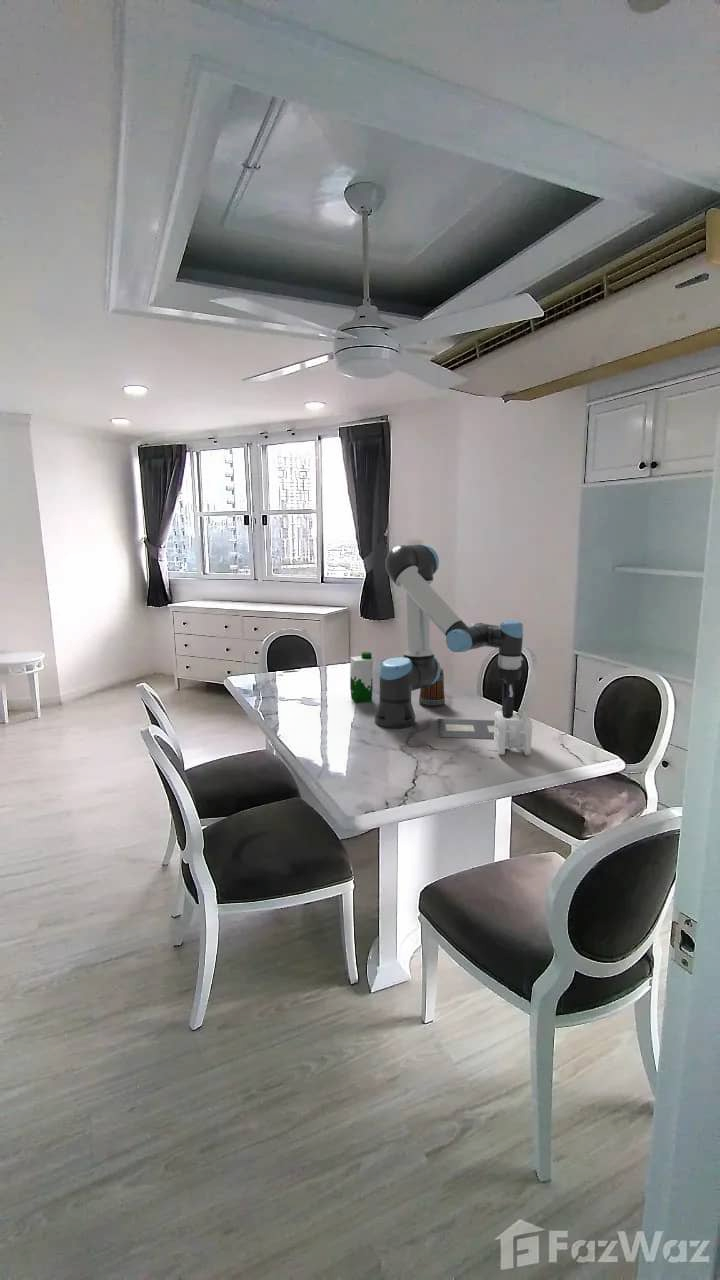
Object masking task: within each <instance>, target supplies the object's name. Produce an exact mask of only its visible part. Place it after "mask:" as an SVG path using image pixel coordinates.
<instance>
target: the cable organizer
mask: <svg viewBox="0 0 720 1280" xmlns="http://www.w3.org/2000/svg"><path fill="white" fill-rule="evenodd" d="M493 714H494V716H493V717H494V718H493V720H495V725H494V739H493V741H494V745H495V748H496V752H497V755H500V756H503V755H505V752H506V750H510V749H511V748H518V751H520V750H522V752H523V754H524V755H525V756H530V755H531V750H532V734H533V723H532V721H531V718H530V717H529V715H528V713H527V711H523V710H521V711H520V717H519V718H511V719H509V718H504V717H503V711H502V710H495V713H493Z"/></svg>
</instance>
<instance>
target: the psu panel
mask: <svg viewBox="0 0 720 1280" xmlns="http://www.w3.org/2000/svg"><path fill="white" fill-rule="evenodd" d="M437 722H438V723H437V724H438V732H439V733H438V734H439V738H449V739H450V738H452V739H480V740H482V739H483V740H484V739H485V740H494V725H495V719H493V720H489V719H488V720H487V719H463V718H462V719H461V718H460V719H458V718H457V719H456V718H437Z"/></svg>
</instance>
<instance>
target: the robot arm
mask: <svg viewBox="0 0 720 1280" xmlns="http://www.w3.org/2000/svg"><path fill="white" fill-rule="evenodd" d="M384 561H385V564H384V565H385V570H386V573H387V575H388V576H389V578H390V579H391V581H392V582H393V583H394V584H395V585H396V586H397V588H402V589H403V590H404V591H405V592H406V594H405V595H406V596H405V597H406V629H407V630H406V633H407V634H406V637H407V638H406V639H407V641H406V642H407V649H406V650H405V651H404V652H403V656H402V657H401V656H396V657H391V658H387V659H385V660H383V661H382V662H381V663H380V666H379V667H380V668H379V669H380V670H379V702H378V705H377V708H376V710H375V714H374V722H375V724H376V725H377V726H380V727H383V728H390V729H402V728H403V729H404V728H409V727H412V726H414V725H415V724H416V720H417V719H416V714H415V710H414V707H413V703H412V691H416V690H420V689H421V688H425V687H428V686H430V685H432V684H434V683H435V682H436V681H437V680H438V678H439V676H440V667H441V665H440V662H439V661H438V659H437V658H436V657H435V652H434V651H433V650H432V649H431V625H430V624H431V621H432V623H433V624H434V625H435V626H436V627H437V628H438V629H439V630H440V631H441V633H442V634H444V636H445V643H446V647H447V648H448V649H449V650H450V651H451V652H453V653H465V652H468V651H470V650H474V649H480V648H482V647H490V648H495V649H498V659H497V663H498V664H497V665H498V668H497V678H498V679H500V680H503V682H502V683H501V687H502V688H501V689H502V691H501V693H502V694H501V695H502V696H501V697H502V700H501V701H502V704H501V707H502V708H501V712H502V714H503V717H504V718H509V719H512V718H513V716H514V708H515V707H514V706H515V696H516V684H515V683H514V682H515V681H519V680H520V679H521V675H522V668H521V667H522V661H524V657H522V654H523V642H524V641H523V639H524V638H523V637H524V625H523V623H522V622H521V621H518V620H502V621H500V623H499V624H500V625H495V624H489V623H483V622H471V623H470V625H469V626H468V625H467V624H466V623H465V622H464V621H463V620H462V619H461V618H460V617H459V615H458V614H457V613H456V612H455V611H454V610H453V609H452V608H451V607H450V606H449V604H448V603H447V602H446V601H445V600H444V599H443V598H442V597H441V596H440V595H439V593H438V592H437V591H435V589H434V588H433V587H432V586H431V584H432V583H433V582H434V575H435V574H436V572H437V571H438V569H439V566H440V560H439V556H438V553H437V552H436V551H435V549H434V548H433V547H431V546H430V545H426V544H407V545H405V544H404V545H397V546H394V547H393V548H392V549H390V551H389V552H388V553H387V555H386V558H385V560H384Z"/></svg>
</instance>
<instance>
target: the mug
mask: <svg viewBox="0 0 720 1280" xmlns="http://www.w3.org/2000/svg"><path fill="white" fill-rule="evenodd" d="M444 680H445V674H444V669H443V668H442V667H441V666H440V676H439V678H438V680H437V681H436V682H435V683H434V684H432V685H430V686H428V687H425V688H420V689H419V691H420V692H419V697H418V701H419V705H420V706H422V707H425V708H432V709H433V708H441V707H443V706H444V705H445V702H446V697H445V683H444V682H445V681H444Z"/></svg>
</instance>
